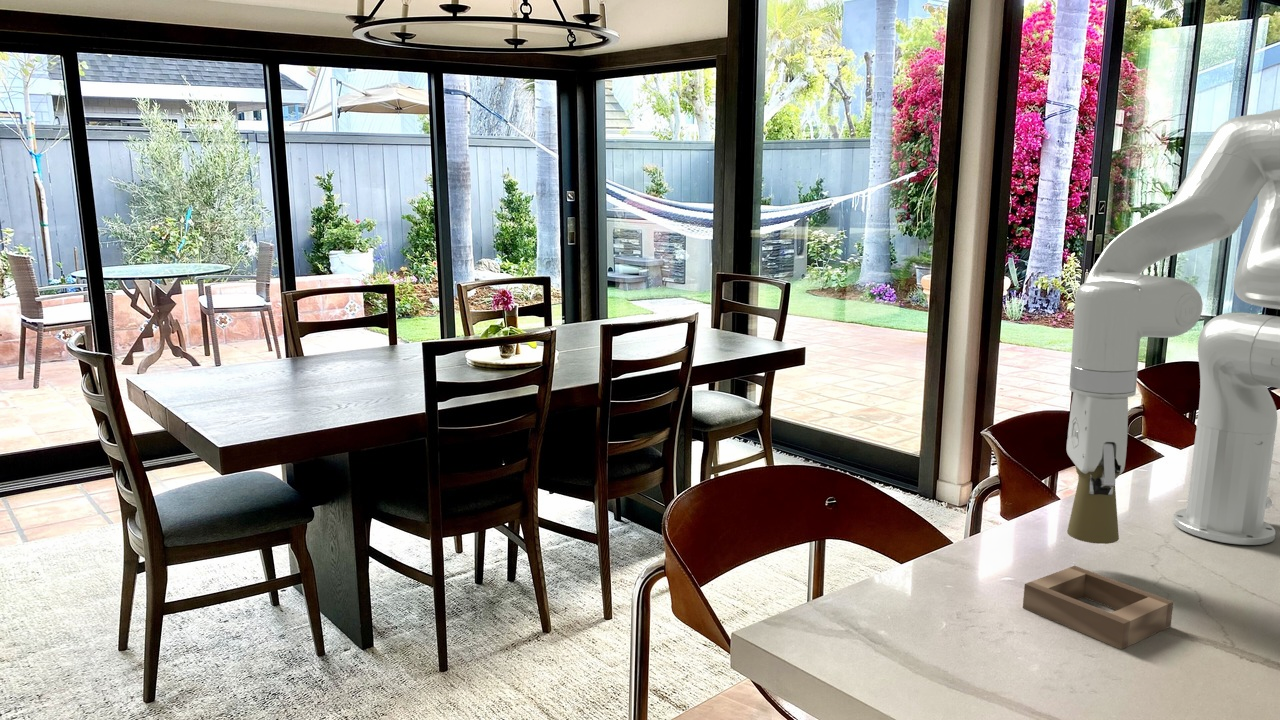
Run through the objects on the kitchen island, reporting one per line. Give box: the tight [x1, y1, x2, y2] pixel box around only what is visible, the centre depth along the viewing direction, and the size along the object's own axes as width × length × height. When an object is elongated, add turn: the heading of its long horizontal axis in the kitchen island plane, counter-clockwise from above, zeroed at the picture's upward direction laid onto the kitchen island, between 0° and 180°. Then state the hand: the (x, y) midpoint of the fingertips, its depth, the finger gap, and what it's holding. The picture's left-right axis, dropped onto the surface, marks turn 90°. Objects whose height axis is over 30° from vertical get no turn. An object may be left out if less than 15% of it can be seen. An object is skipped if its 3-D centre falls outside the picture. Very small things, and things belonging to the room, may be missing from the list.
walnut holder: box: [1022, 565, 1174, 650], centre depth 108 cm, size 10×12×3 cm
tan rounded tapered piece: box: [1066, 459, 1120, 545], centre depth 120 cm, size 6×6×11 cm
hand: (1092, 517), depth 121 cm, fingers closed on tan rounded tapered piece, 2 cm apart
